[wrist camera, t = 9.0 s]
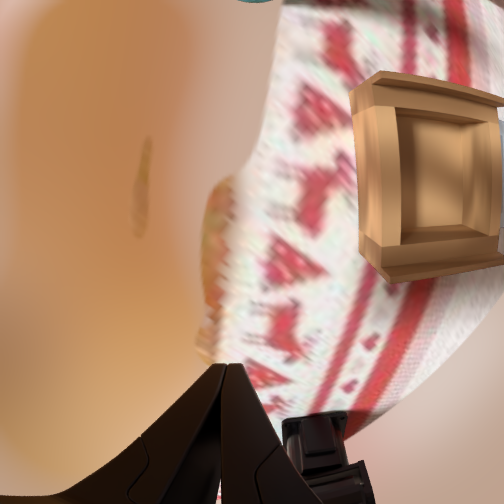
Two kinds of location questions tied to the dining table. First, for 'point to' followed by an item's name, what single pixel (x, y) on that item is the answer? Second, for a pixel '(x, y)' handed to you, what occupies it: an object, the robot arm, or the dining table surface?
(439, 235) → the pine box
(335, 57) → the dining table surface
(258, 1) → the tube
